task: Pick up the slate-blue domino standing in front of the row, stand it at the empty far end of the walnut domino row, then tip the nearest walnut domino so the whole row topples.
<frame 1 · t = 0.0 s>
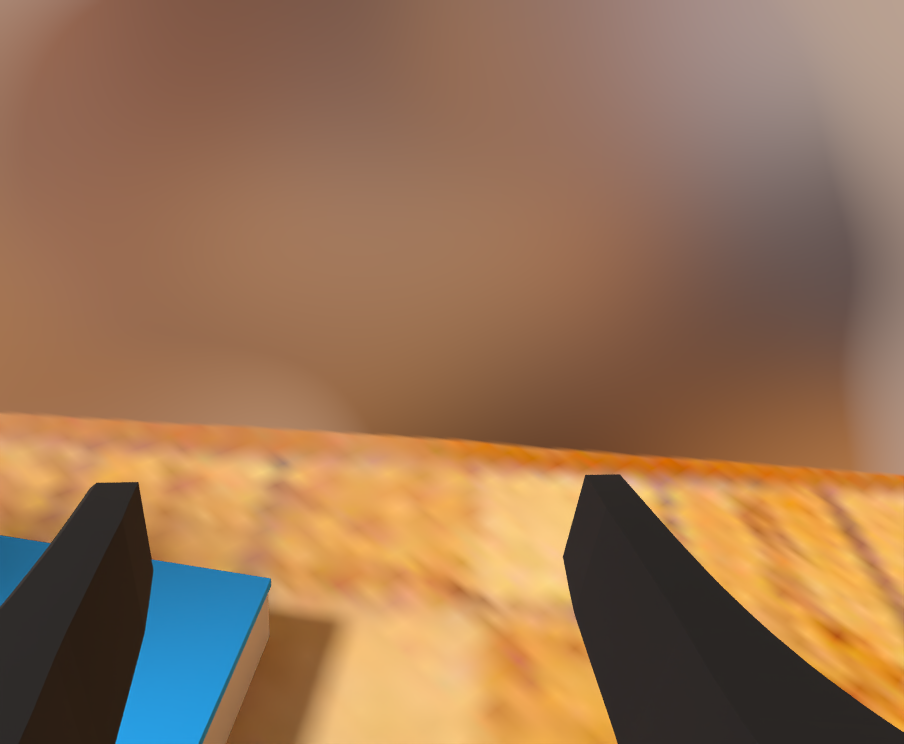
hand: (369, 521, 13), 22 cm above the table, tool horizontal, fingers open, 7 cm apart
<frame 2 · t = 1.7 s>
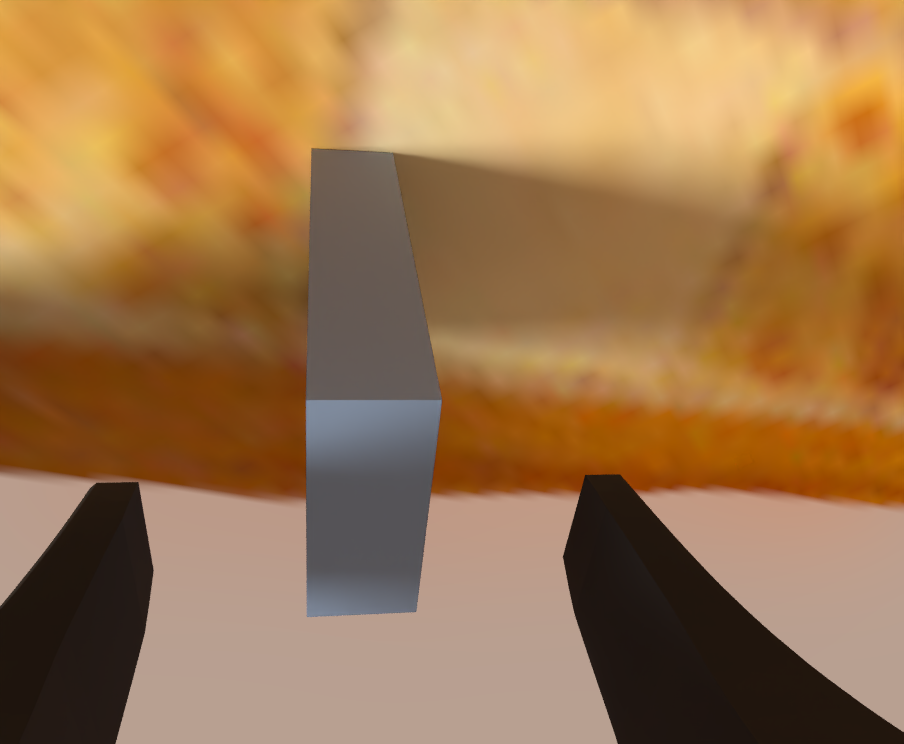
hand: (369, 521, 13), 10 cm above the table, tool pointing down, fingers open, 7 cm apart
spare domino: (349, 241, 21), on the table
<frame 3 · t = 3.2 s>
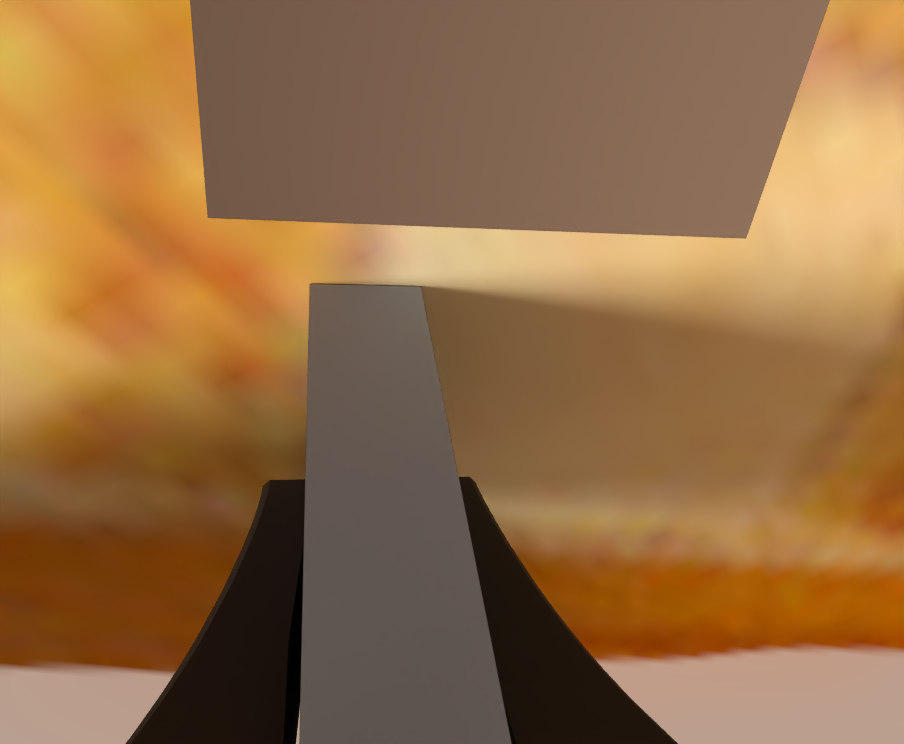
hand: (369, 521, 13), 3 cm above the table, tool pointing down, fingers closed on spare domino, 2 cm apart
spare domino: (360, 394, 16), on the table, touching gripper
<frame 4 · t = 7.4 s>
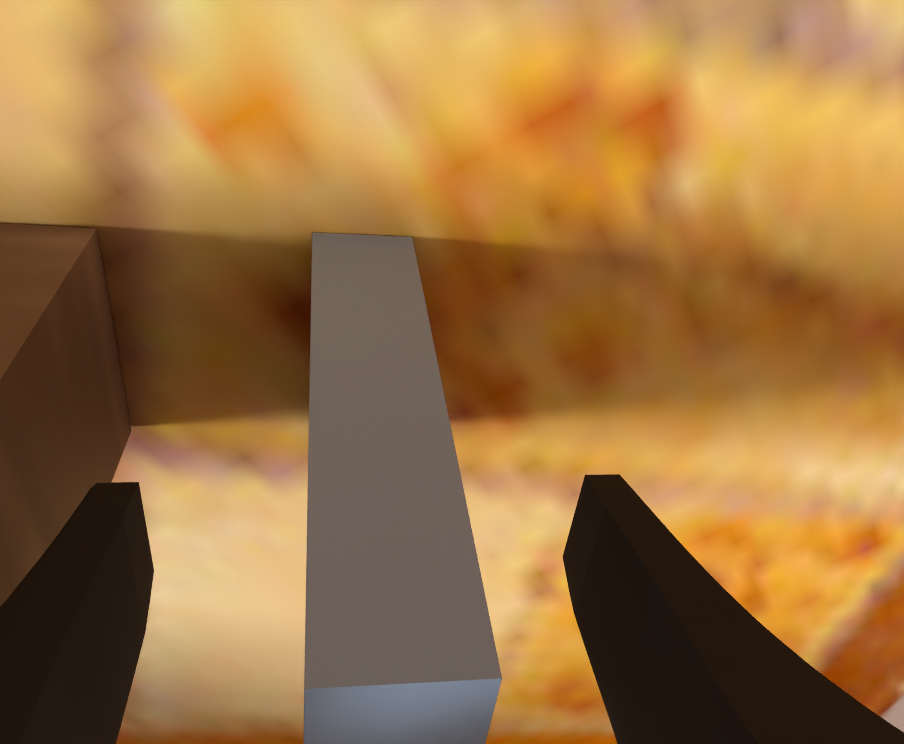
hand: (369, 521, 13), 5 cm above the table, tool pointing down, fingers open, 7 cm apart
domino 4: (64, 336, 16), on the table, touching gripper
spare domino: (357, 338, 17), on the table
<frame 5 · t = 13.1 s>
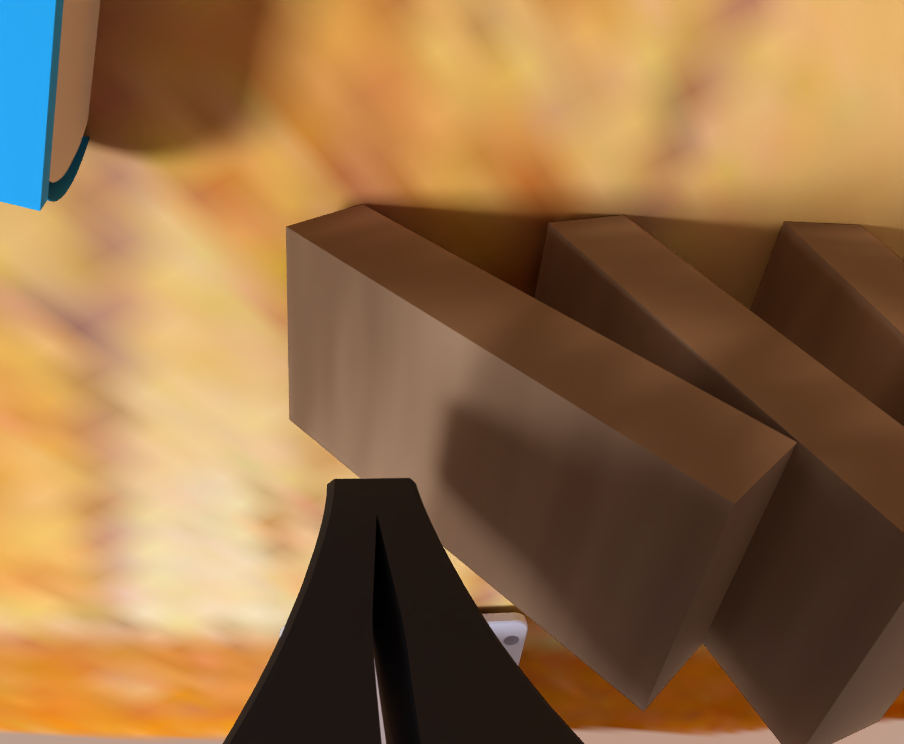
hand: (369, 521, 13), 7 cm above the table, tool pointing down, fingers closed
domino 3: (786, 312, 20), on the table
domino 2: (566, 313, 19), on the table, tilted 17°
domino 1: (324, 316, 18), point 1 cm above the table, tilted 38°
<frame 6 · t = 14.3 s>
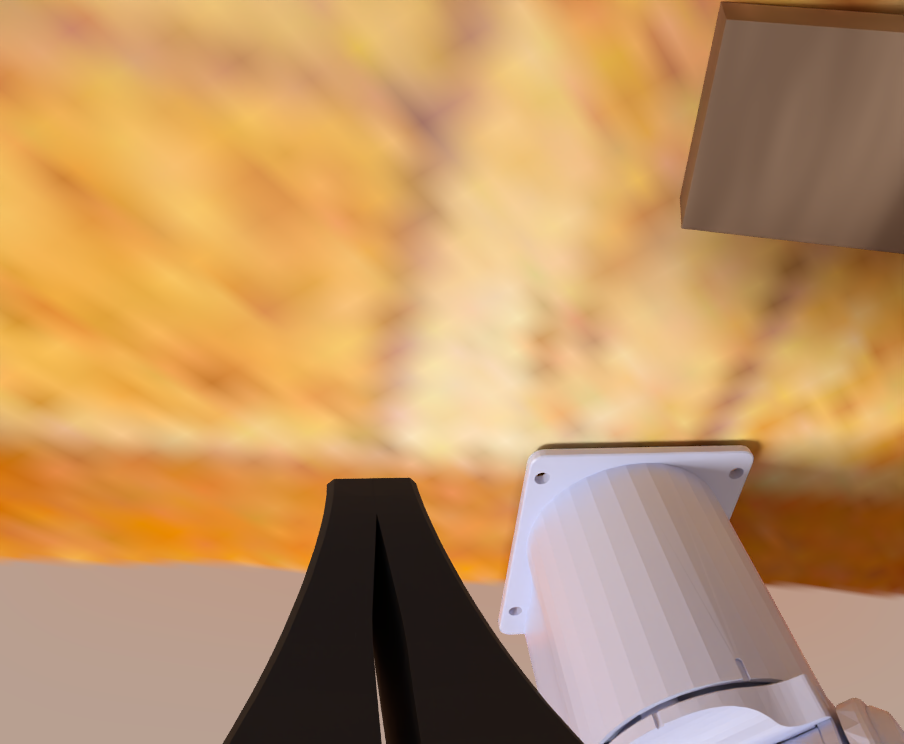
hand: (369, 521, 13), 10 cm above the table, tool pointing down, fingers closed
domino 1: (700, 118, 20), point 1 cm above the table, tilted 71°, touching domino 2
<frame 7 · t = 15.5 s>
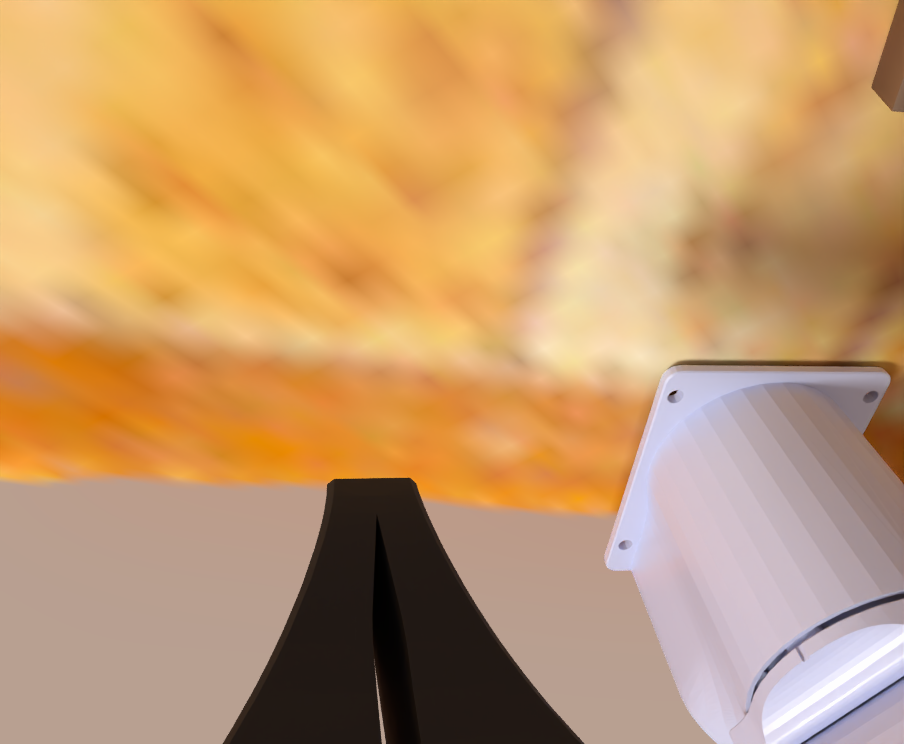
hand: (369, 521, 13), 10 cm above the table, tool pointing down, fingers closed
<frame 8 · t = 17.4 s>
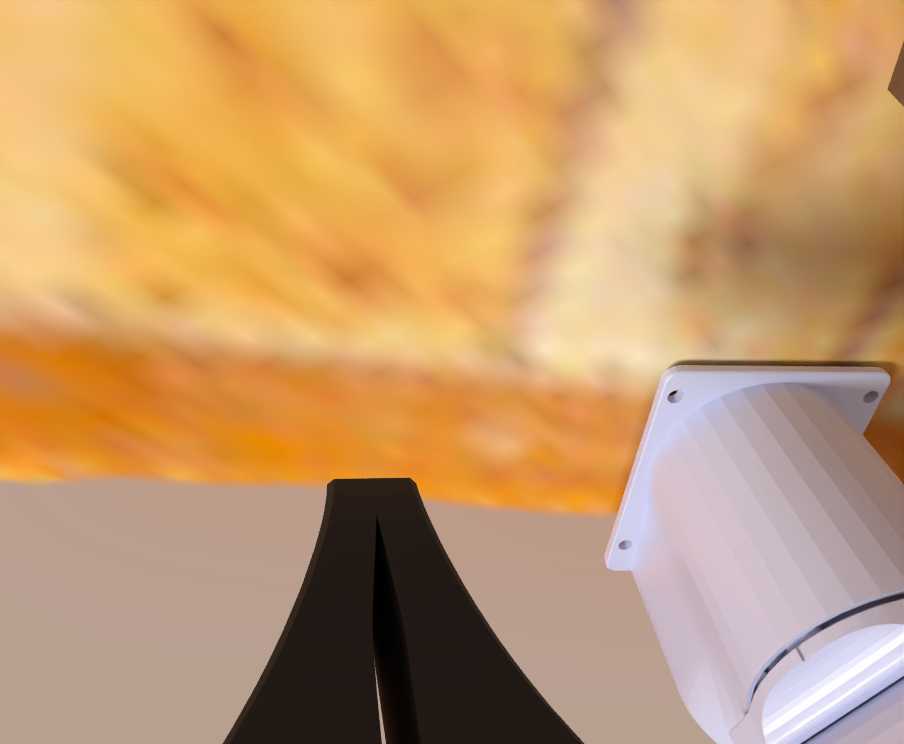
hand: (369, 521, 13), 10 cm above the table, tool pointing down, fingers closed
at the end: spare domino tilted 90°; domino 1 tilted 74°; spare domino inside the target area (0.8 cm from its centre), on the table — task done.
